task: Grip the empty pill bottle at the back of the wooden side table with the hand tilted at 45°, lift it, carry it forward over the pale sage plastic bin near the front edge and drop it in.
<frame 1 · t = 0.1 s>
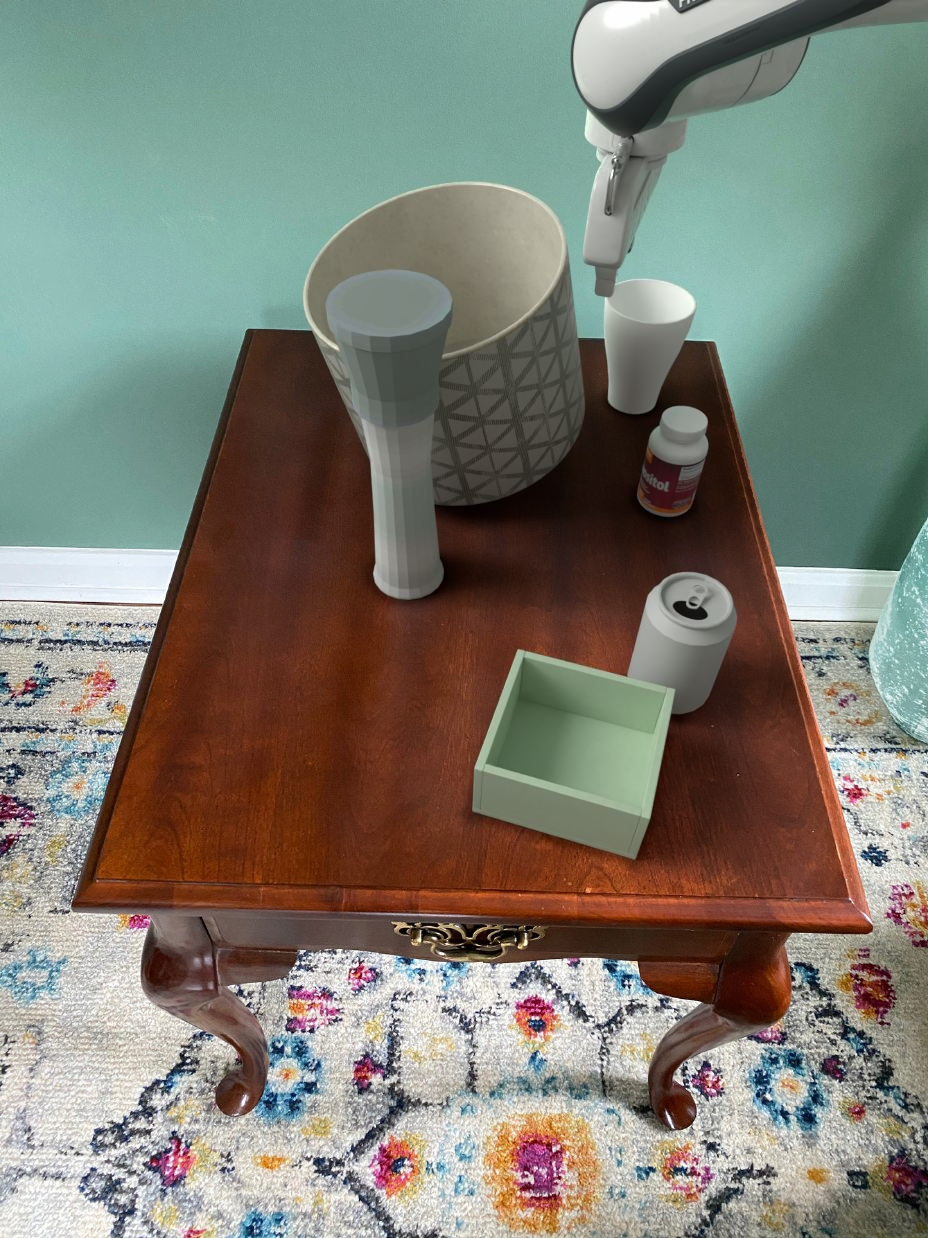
hand: (614, 270, 85), 22 cm above the table, tool pointing down, fingers open, 8 cm apart
bin: (569, 771, 72), on the table
cup: (631, 401, 109), on the table
planter: (479, 441, 99), point 2 cm above the table
can: (666, 687, 79), on the table
pill bottle: (663, 502, 96), on the table
grey tall flared cylinder: (408, 574, 87), on the table
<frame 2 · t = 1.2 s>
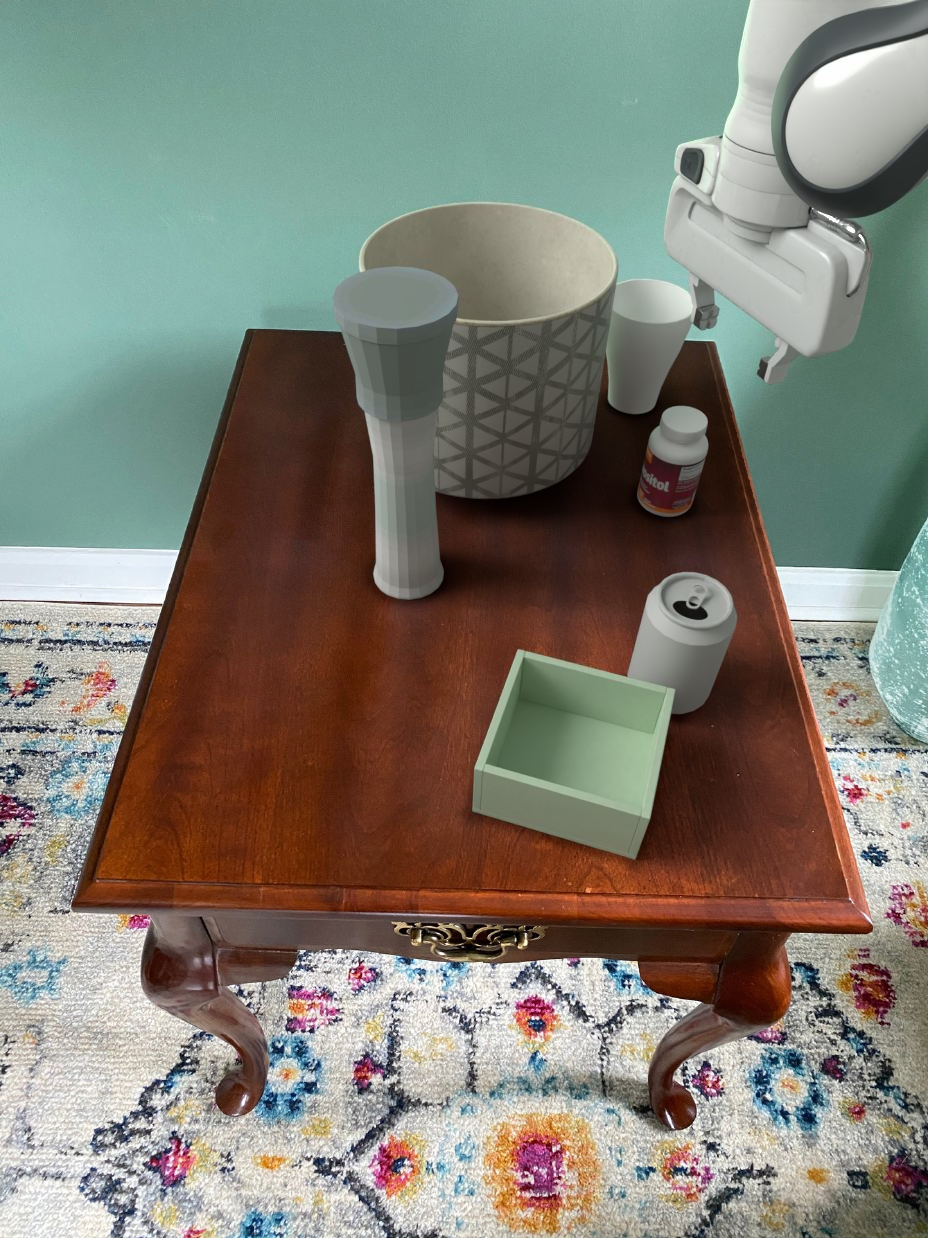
hand: (734, 351, 72), 24 cm above the table, tool pointing down, fingers open, 8 cm apart
planter: (481, 456, 101), on the table
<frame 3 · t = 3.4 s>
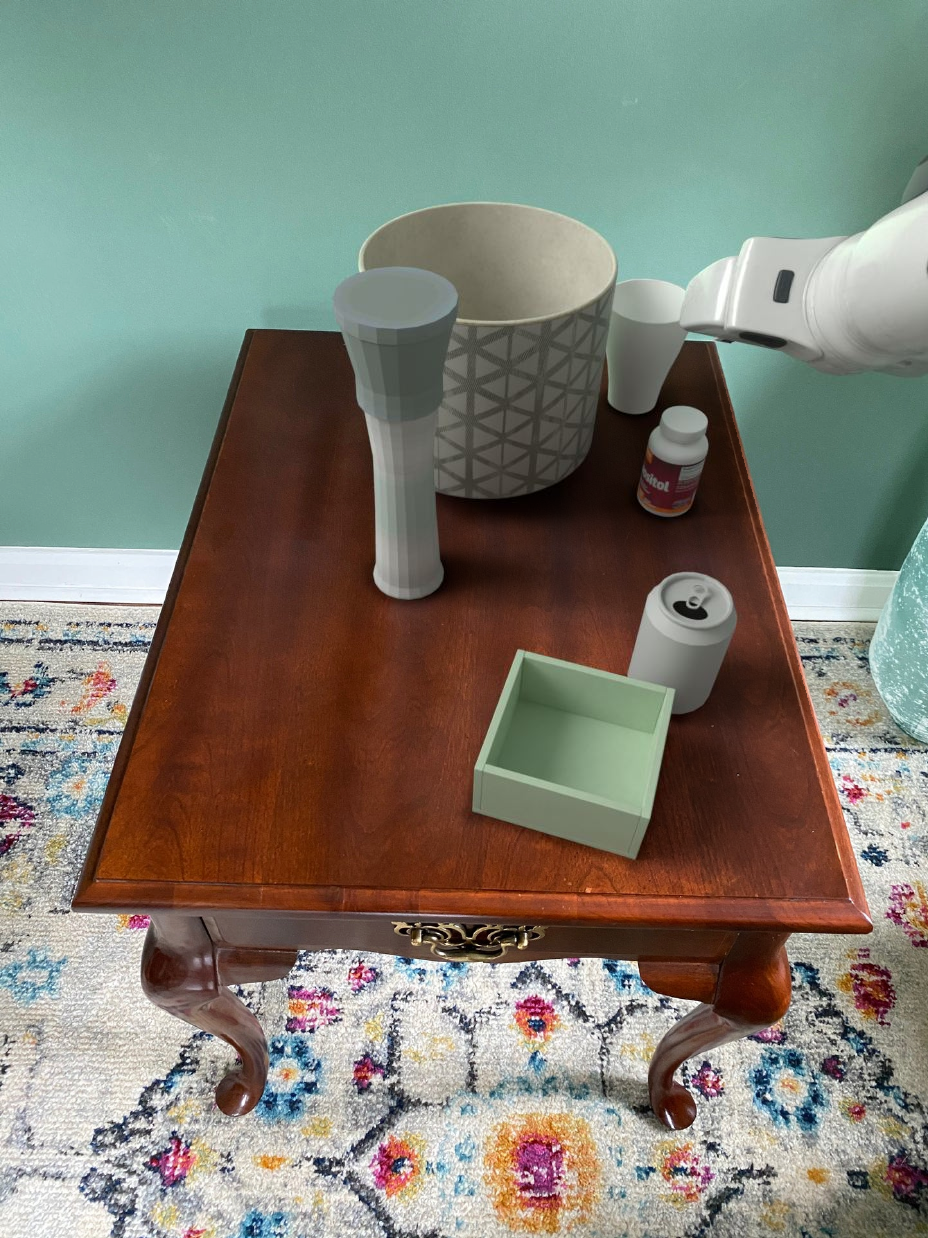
hand: (776, 343, 73), 24 cm above the table, tool tilted 50°, fingers open, 8 cm apart
nothing on the table moved.
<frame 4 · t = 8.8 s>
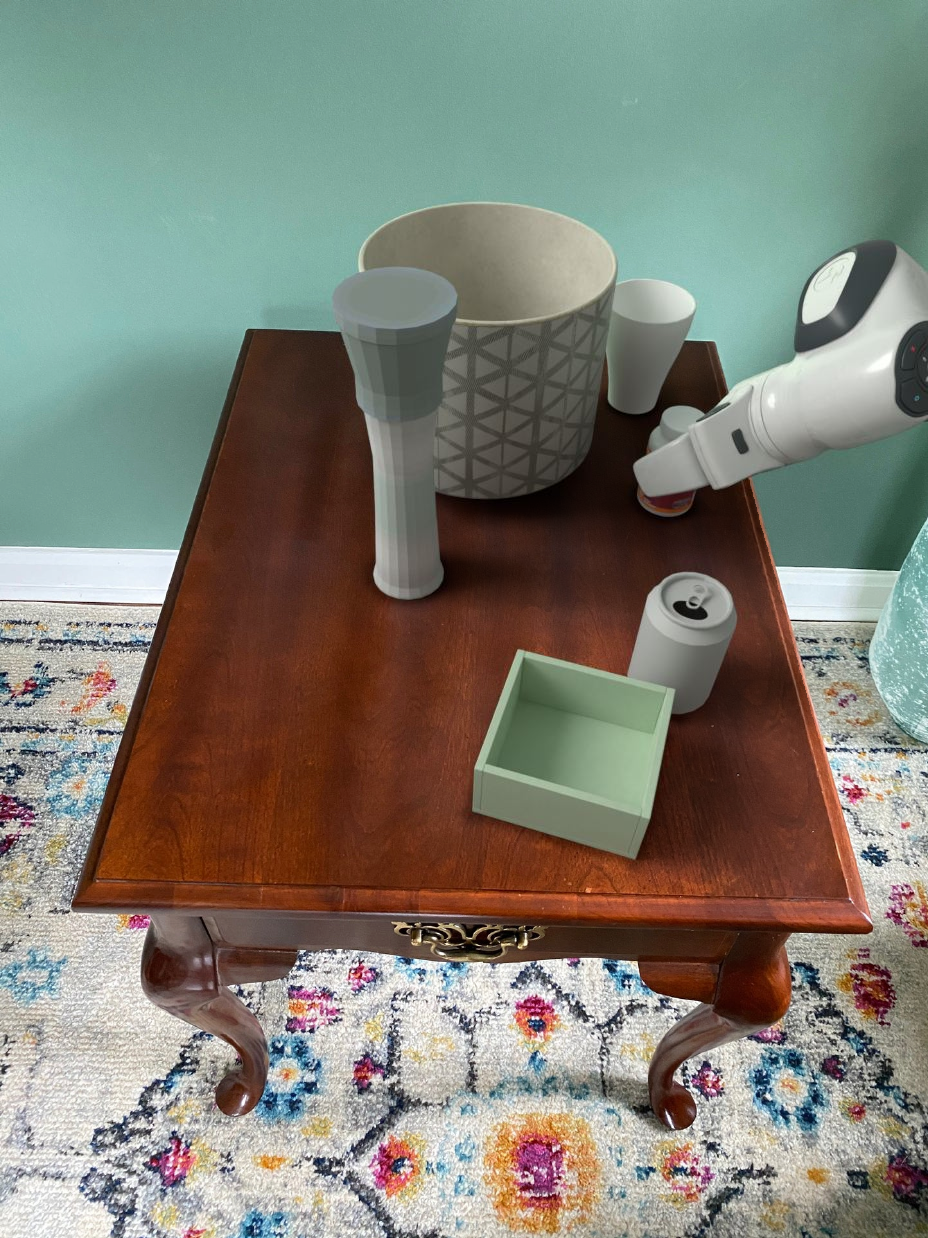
hand: (669, 454, 91), 6 cm above the table, tool tilted 45°, fingers closed on pill bottle, 6 cm apart
pill bottle: (663, 502, 96), on the table, touching gripper
everything else where it was.
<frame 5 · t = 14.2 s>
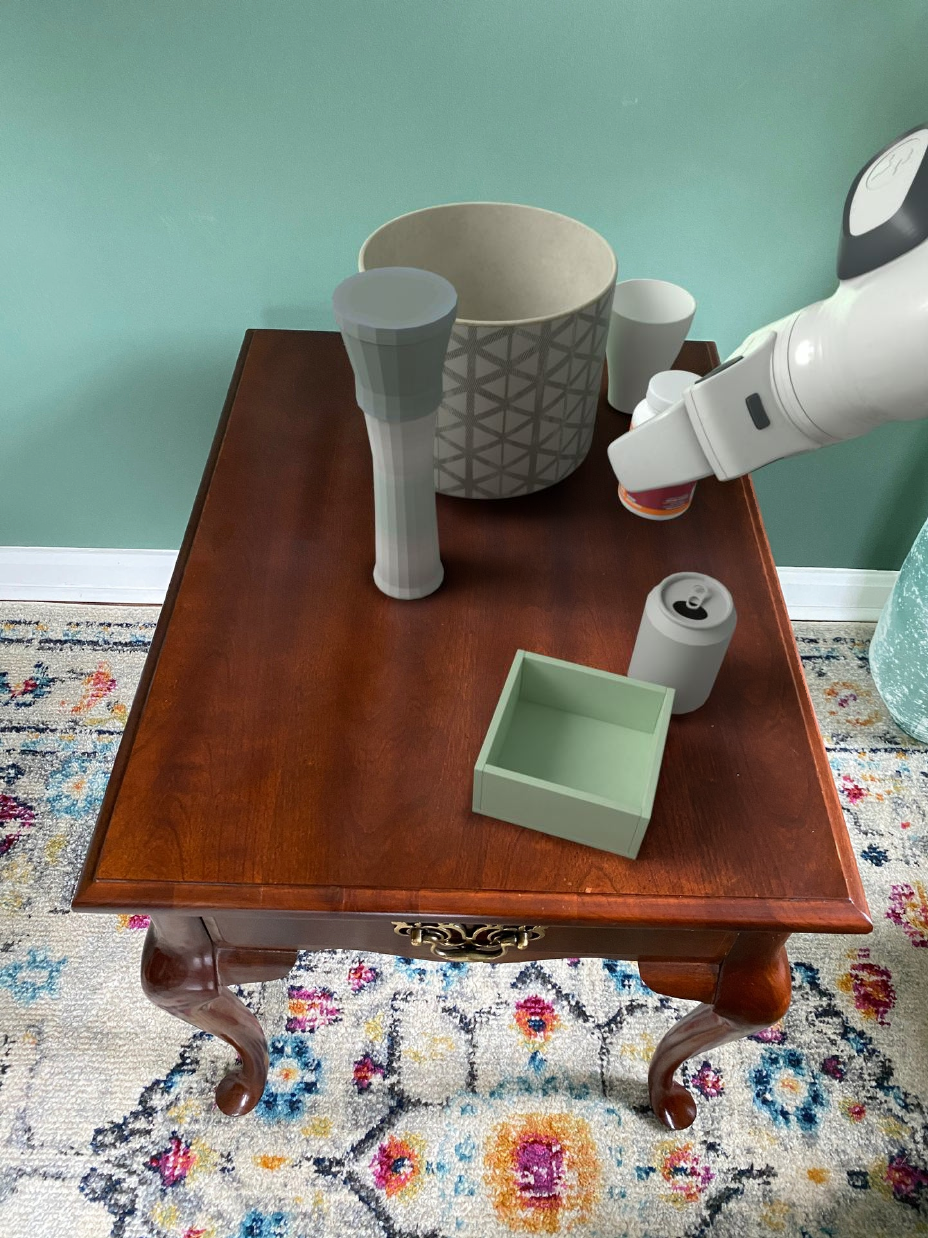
hand: (660, 437, 68), 21 cm above the table, tool tilted 45°, fingers closed on pill bottle, 6 cm apart
pill bottle: (653, 500, 73), point 15 cm above the table, touching gripper
everything else where it was.
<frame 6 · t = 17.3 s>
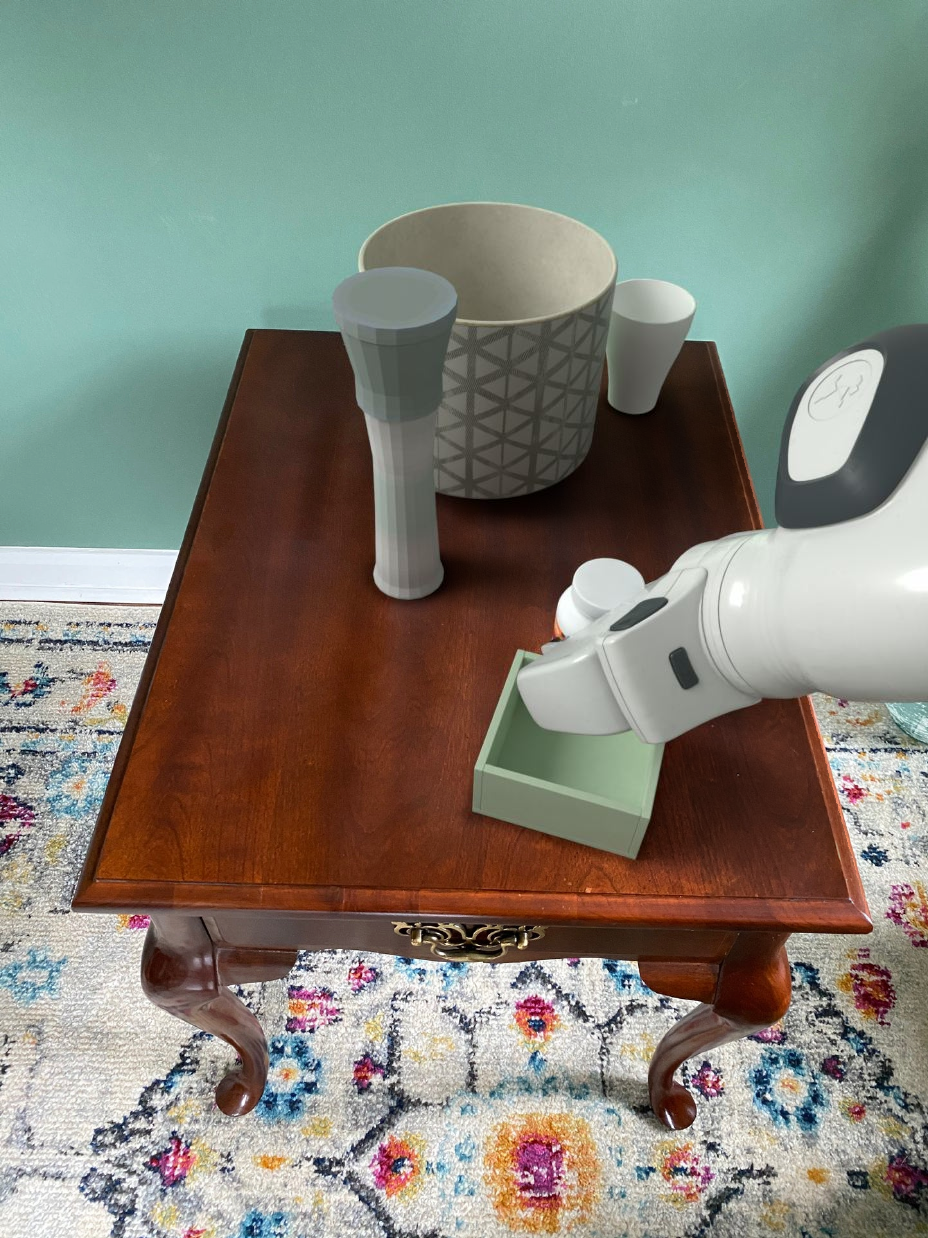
hand: (591, 626, 60), 18 cm above the table, tool tilted 45°, fingers closed on pill bottle, 6 cm apart
pill bottle: (586, 685, 64), point 11 cm above the table, touching gripper
everything else where it was.
when the fingers open (10 cm above the table, at t = 19.9 s): pill bottle drops 3 cm, resting on bin.
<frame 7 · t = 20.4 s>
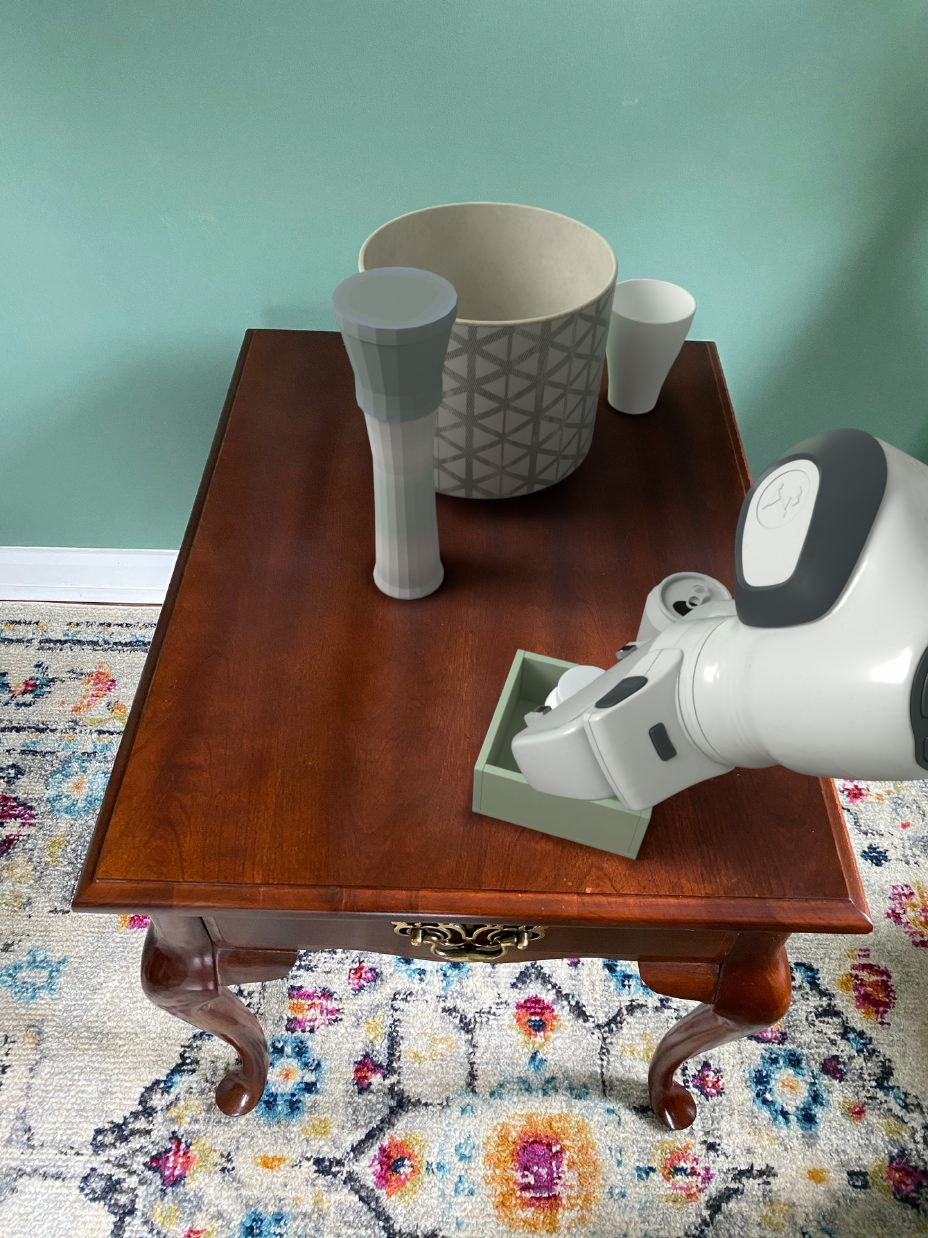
hand: (581, 687, 64), 11 cm above the table, tool tilted 45°, fingers open, 8 cm apart
pill bottle: (571, 769, 72), resting on bin
everything else where it was.
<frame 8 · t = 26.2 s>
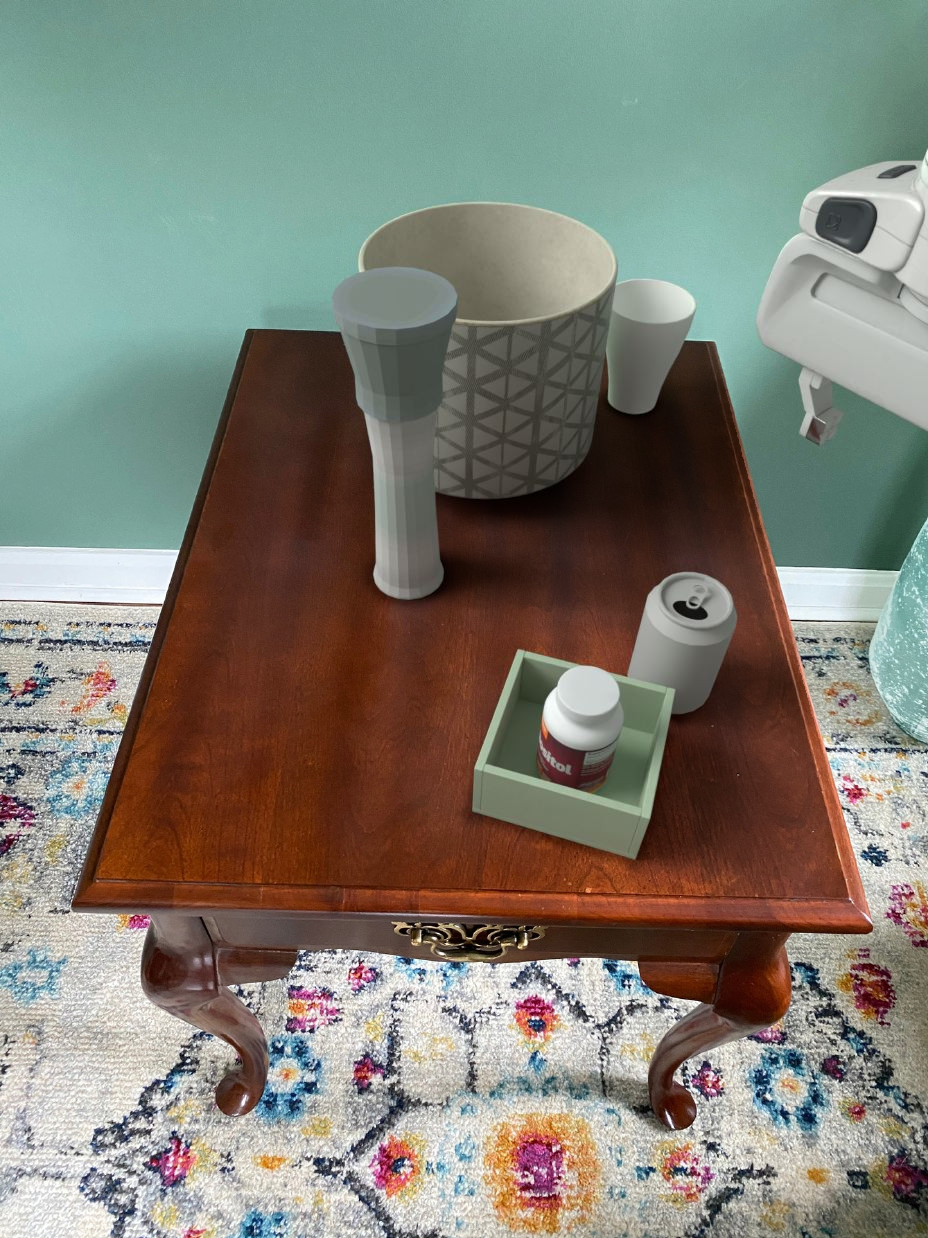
hand: (883, 476, 50), 31 cm above the table, tool pointing down, fingers open, 8 cm apart
nothing on the table moved.
at the end: pill bottle inside the target area in the bin (0.1 cm from its centre), point 0.4 cm above the bin's base; the gripper is holding nothing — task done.
